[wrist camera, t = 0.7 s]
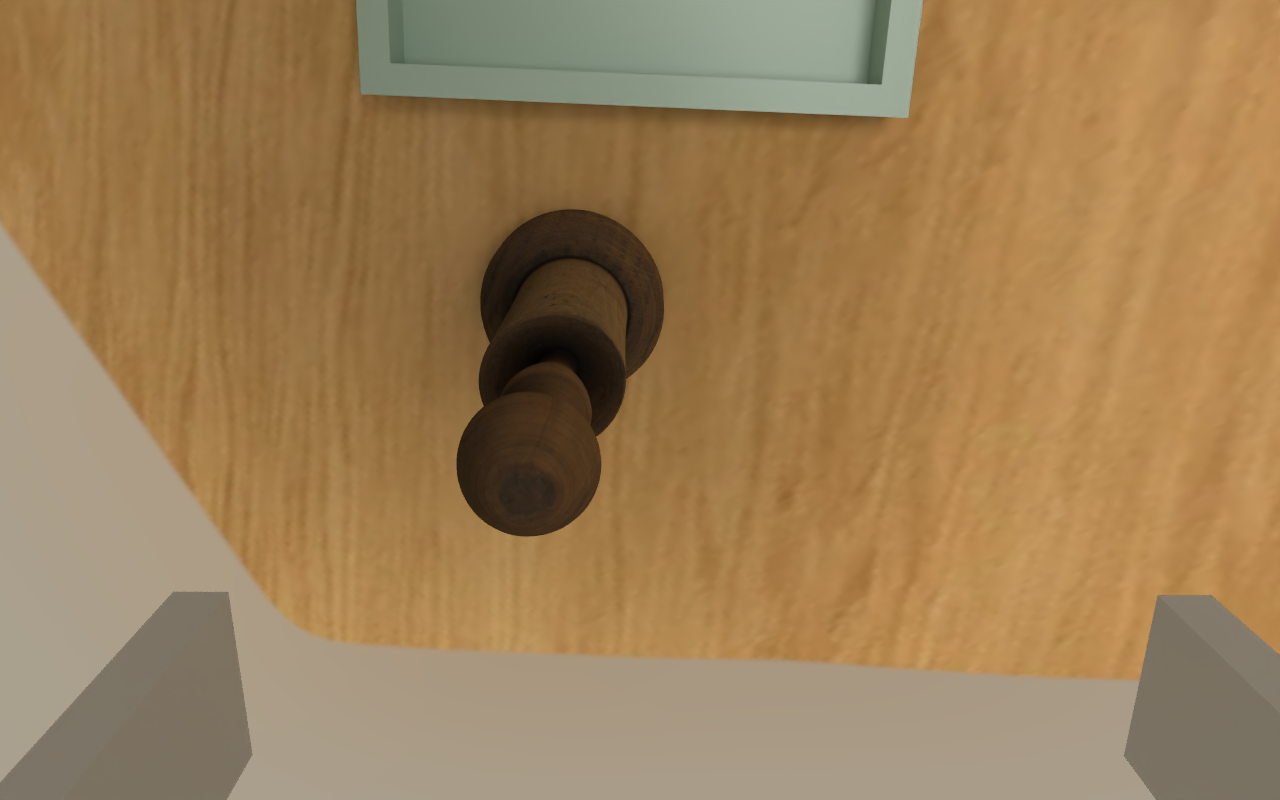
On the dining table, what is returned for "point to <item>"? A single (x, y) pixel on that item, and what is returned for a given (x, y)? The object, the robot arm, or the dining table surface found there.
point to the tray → (647, 52)
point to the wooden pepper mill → (555, 366)
